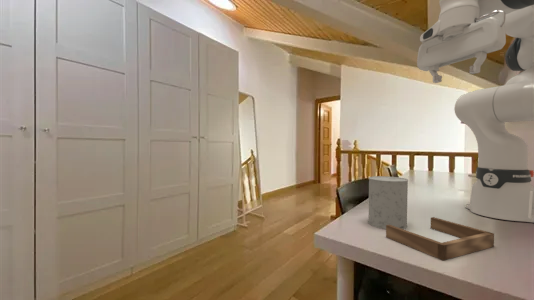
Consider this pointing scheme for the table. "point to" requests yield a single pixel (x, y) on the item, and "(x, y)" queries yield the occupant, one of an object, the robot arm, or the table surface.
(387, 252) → the table surface
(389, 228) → the walnut corral
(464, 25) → the robot arm
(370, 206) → the grey speckled cylinder
